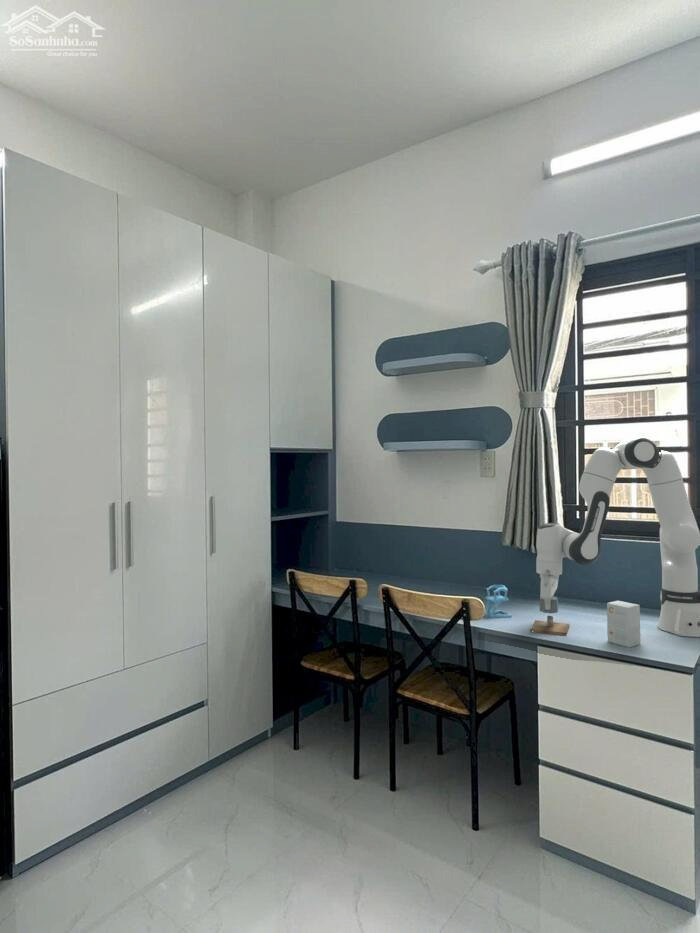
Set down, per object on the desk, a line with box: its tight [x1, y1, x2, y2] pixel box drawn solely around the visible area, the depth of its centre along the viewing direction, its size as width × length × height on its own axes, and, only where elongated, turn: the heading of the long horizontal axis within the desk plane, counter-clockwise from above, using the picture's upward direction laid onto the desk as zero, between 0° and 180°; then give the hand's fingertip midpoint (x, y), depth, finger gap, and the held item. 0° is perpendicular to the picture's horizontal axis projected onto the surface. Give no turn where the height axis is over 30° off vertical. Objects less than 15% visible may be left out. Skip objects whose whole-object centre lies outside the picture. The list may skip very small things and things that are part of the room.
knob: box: [539, 595, 559, 614], centre depth 212 cm, size 6×6×5 cm
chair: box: [485, 584, 513, 619], centre depth 230 cm, size 8×8×12 cm
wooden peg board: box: [530, 615, 571, 637], centre depth 211 cm, size 12×12×4 cm
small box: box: [606, 600, 641, 648], centre depth 195 cm, size 8×6×13 cm
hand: (549, 606), depth 212 cm, fingers closed on knob, 6 cm apart
